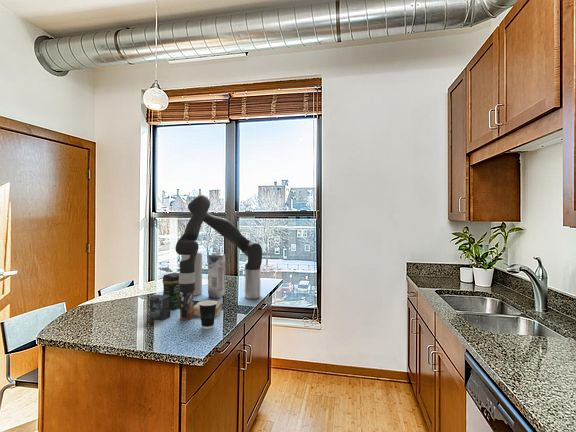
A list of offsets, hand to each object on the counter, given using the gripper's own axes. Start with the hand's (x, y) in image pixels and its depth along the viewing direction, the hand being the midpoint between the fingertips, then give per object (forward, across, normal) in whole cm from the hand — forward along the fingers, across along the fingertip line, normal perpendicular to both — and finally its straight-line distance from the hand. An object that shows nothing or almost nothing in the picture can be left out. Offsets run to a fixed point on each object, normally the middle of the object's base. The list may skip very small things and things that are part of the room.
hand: (186, 314), depth 159 cm
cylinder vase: (+2, +47, +11) cm, 48 cm away
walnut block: (+2, 0, 0) cm, 2 cm away
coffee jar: (+2, +17, +13) cm, 21 cm away
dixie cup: (+2, -12, -13) cm, 18 cm away
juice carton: (+2, +41, -6) cm, 41 cm away
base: (+2, +9, -8) cm, 12 cm away
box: (+2, 0, +13) cm, 13 cm away
